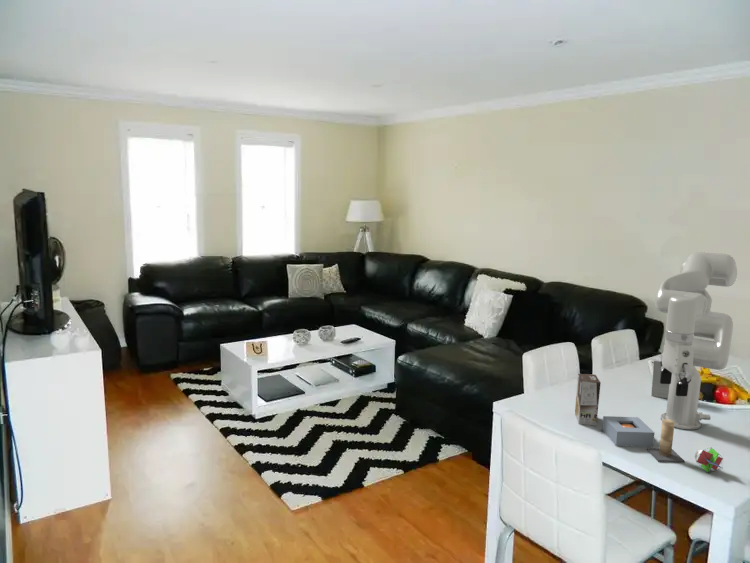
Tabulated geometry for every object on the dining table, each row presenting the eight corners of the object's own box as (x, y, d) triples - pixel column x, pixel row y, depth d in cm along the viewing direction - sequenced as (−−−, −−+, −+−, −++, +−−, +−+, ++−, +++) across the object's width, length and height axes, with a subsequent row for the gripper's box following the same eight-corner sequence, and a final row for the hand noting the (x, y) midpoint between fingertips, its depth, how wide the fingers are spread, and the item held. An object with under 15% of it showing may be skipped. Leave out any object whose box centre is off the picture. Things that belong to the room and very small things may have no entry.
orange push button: (630, 434, 186) (631, 423, 185) (635, 439, 182) (636, 428, 181) (618, 433, 186) (619, 423, 186) (623, 439, 182) (624, 428, 182)
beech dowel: (667, 451, 174) (671, 419, 172) (673, 456, 170) (676, 423, 169) (656, 451, 174) (660, 418, 172) (662, 456, 171) (665, 423, 169)
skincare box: (674, 395, 223) (678, 358, 221) (673, 400, 218) (677, 363, 215) (651, 391, 228) (655, 354, 225) (649, 396, 222) (653, 359, 219)
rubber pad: (671, 450, 176) (671, 448, 176) (684, 462, 168) (684, 460, 168) (646, 449, 176) (646, 447, 176) (658, 461, 168) (658, 460, 168)
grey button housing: (636, 430, 190) (638, 417, 189) (652, 446, 178) (654, 432, 177) (602, 429, 190) (603, 416, 189) (615, 445, 179) (617, 431, 178)
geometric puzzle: (720, 458, 167) (706, 438, 166) (734, 469, 160) (720, 448, 159) (699, 470, 168) (686, 451, 167) (712, 482, 161) (698, 462, 160)
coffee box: (597, 426, 193) (601, 382, 190) (578, 424, 195) (581, 381, 192) (592, 415, 202) (596, 374, 199) (574, 413, 203) (577, 372, 201)
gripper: (707, 345, 157) (700, 401, 160) (677, 328, 174) (671, 379, 177) (681, 345, 157) (674, 400, 160) (653, 328, 174) (647, 379, 177)
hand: (673, 389), depth 169 cm, fingers open, 9 cm apart
